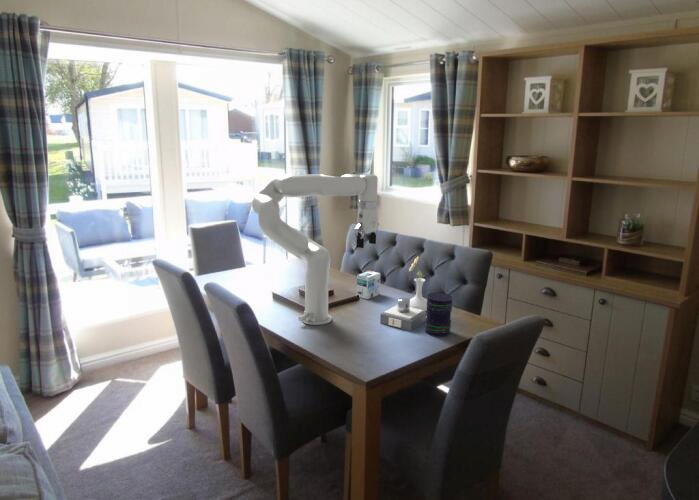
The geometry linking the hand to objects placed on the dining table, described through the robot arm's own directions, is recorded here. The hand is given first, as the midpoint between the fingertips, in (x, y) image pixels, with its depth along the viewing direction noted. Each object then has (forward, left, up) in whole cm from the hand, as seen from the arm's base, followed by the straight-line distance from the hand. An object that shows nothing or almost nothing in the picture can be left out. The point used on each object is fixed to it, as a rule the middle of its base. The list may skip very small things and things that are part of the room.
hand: (366, 245), depth 220 cm
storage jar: (0, -34, -31) cm, 46 cm away
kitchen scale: (+2, -18, -30) cm, 35 cm away
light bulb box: (+23, +12, -31) cm, 40 cm away
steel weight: (+2, -18, -26) cm, 31 cm away
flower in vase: (+19, -16, -31) cm, 39 cm away
